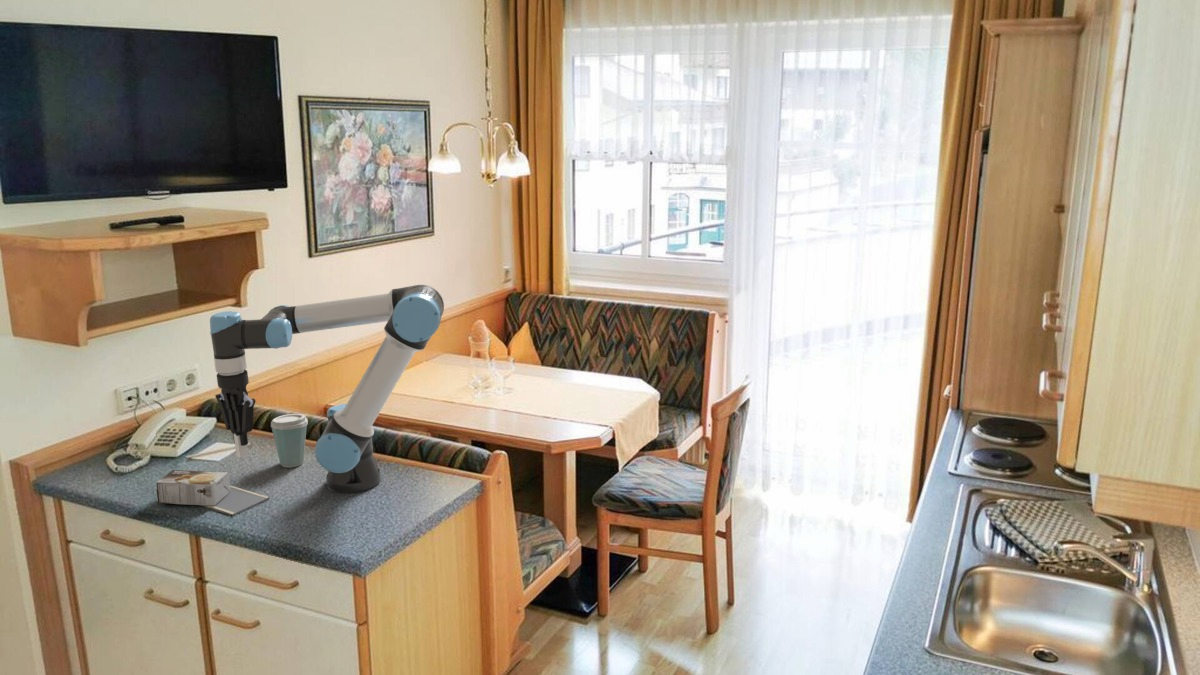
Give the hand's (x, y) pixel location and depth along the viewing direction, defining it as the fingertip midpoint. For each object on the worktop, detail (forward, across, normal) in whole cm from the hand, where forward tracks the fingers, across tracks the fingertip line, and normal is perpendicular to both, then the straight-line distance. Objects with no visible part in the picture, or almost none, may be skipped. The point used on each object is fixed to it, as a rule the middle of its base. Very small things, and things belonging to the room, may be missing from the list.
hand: (242, 455), depth 241 cm
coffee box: (+11, +8, +1) cm, 14 cm away
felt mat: (+14, +12, 0) cm, 18 cm away
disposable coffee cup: (+15, +13, -27) cm, 33 cm away
